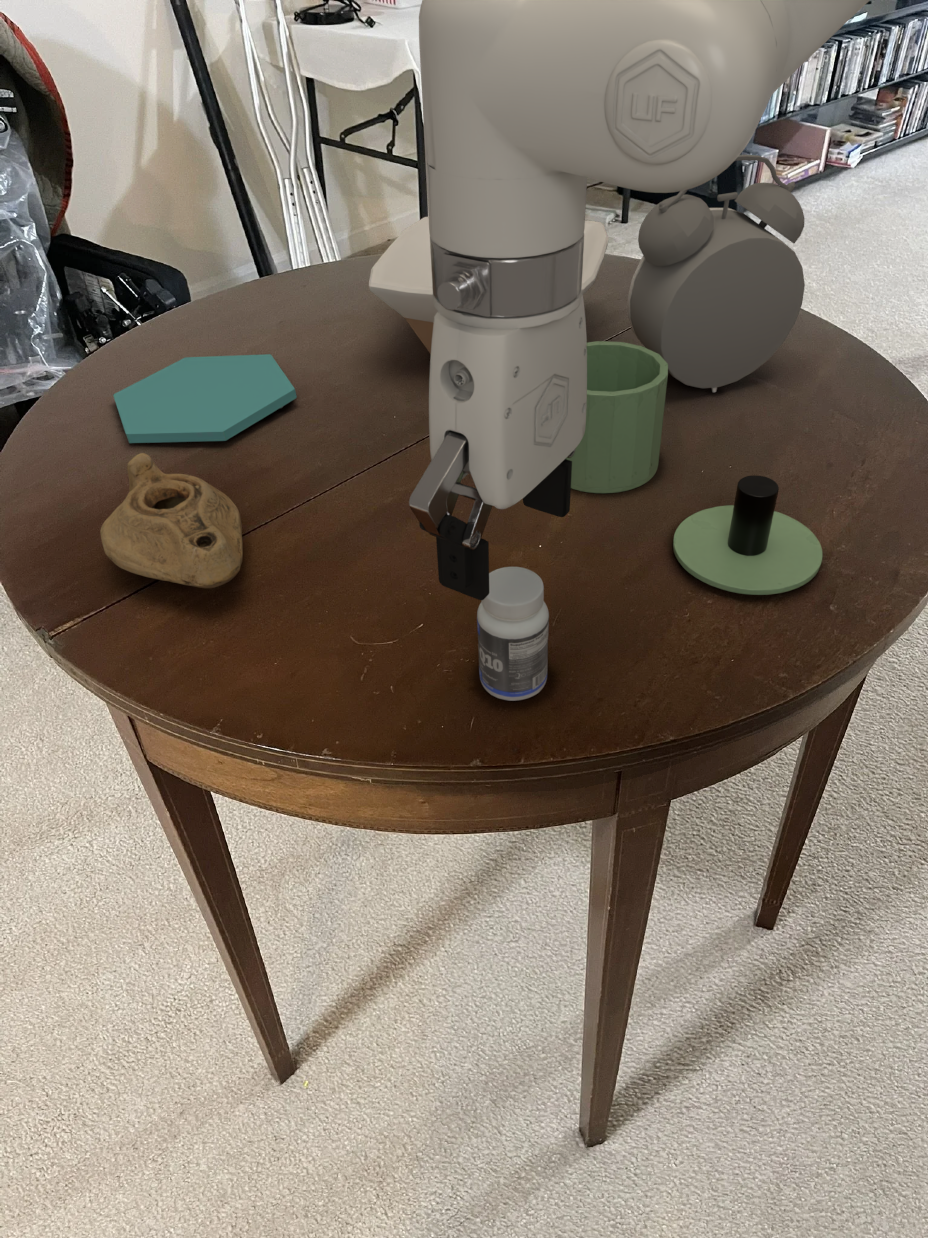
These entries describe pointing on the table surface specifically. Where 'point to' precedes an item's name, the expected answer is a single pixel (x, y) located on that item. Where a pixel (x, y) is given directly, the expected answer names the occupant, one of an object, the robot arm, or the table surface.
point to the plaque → (203, 399)
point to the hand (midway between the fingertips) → (507, 547)
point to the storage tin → (620, 418)
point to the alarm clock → (718, 282)
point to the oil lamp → (174, 528)
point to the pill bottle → (513, 634)
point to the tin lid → (748, 544)
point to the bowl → (409, 274)
